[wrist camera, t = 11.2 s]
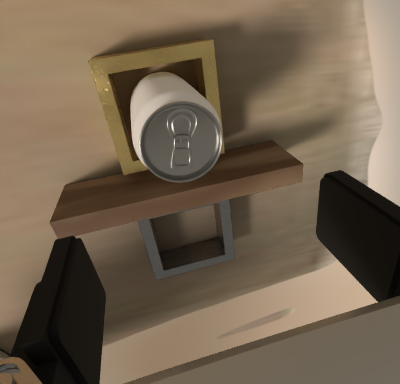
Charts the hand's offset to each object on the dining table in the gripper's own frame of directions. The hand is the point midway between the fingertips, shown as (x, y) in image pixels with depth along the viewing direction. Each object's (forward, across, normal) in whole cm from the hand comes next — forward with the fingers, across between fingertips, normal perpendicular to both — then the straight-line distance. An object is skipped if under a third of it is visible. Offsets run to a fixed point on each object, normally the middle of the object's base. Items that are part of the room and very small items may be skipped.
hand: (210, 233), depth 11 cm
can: (+22, -1, 0) cm, 22 cm away
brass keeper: (+21, 0, 0) cm, 21 cm away
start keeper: (+22, 0, +15) cm, 26 cm away
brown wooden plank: (+21, 0, +7) cm, 23 cm away
